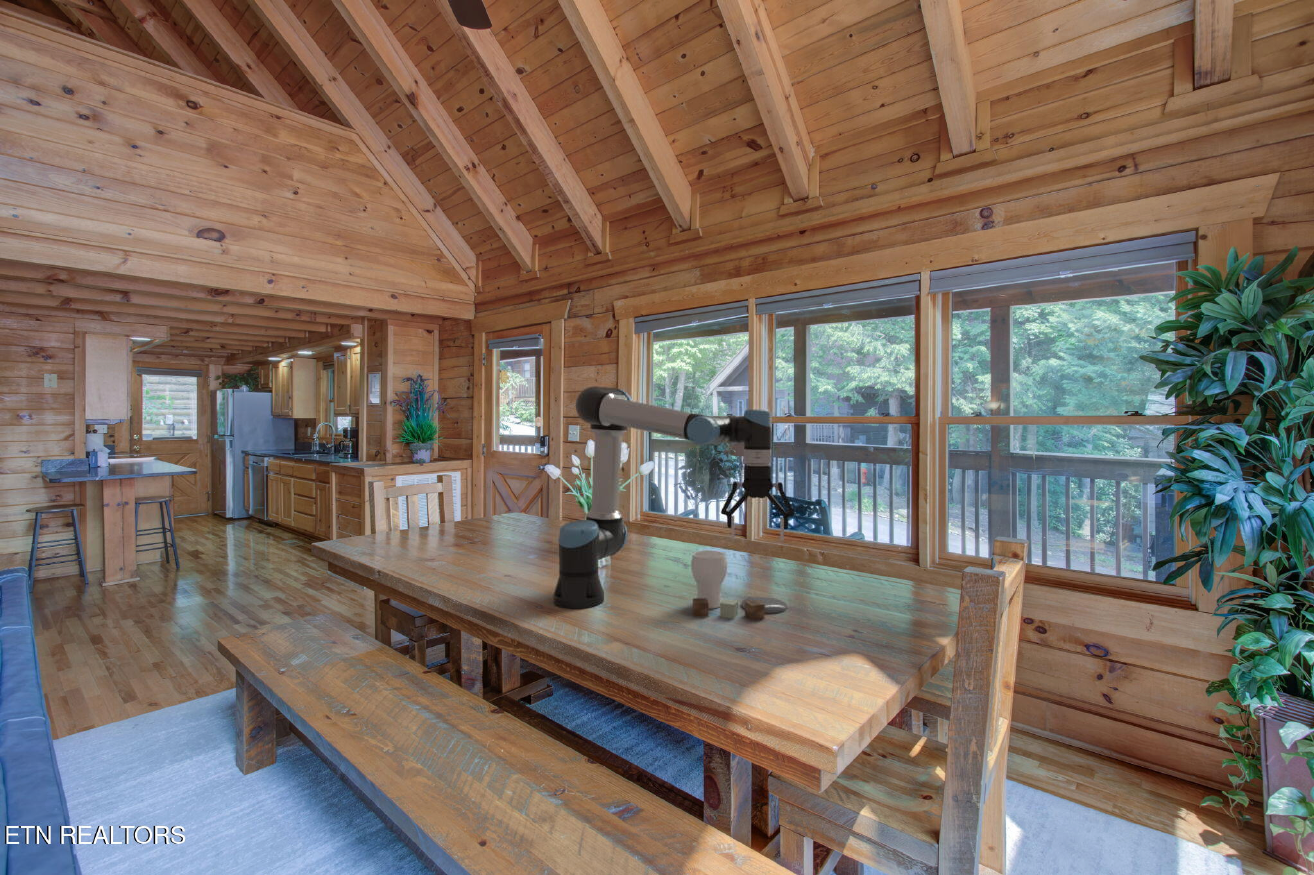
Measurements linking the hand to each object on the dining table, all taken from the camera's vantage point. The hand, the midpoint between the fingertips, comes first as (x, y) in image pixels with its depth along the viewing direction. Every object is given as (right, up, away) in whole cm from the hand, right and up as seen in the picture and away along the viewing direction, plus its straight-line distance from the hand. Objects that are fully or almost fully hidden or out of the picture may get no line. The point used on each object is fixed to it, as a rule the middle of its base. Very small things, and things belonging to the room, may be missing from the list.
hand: (757, 540), depth 164 cm
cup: (-13, -21, +9) cm, 26 cm away
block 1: (-16, -21, 0) cm, 26 cm away
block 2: (-8, -21, -1) cm, 22 cm away
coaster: (+3, -21, +7) cm, 22 cm away
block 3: (-1, -21, -2) cm, 21 cm away
